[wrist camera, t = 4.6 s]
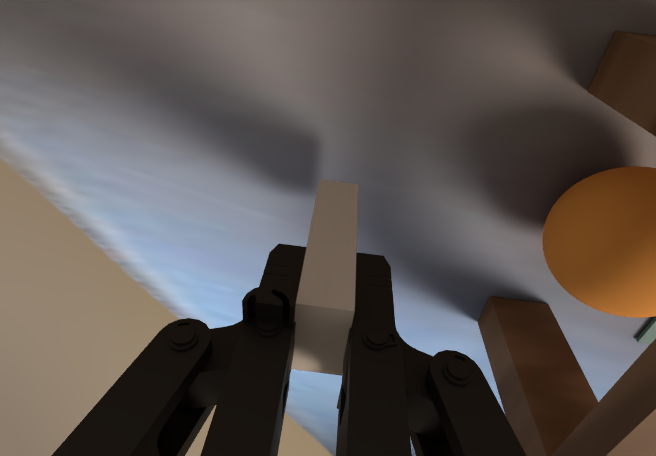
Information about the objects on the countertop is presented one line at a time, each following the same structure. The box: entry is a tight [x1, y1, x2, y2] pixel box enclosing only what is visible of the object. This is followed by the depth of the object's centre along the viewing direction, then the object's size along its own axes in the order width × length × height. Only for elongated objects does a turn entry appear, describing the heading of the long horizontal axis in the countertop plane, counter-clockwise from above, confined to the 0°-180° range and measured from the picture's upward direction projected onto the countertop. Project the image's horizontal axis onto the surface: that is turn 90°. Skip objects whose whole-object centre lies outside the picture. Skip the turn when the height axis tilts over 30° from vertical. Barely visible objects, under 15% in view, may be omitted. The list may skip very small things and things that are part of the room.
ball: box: [543, 167, 656, 318], centre depth 15 cm, size 6×6×6 cm
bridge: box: [478, 31, 656, 456], centre depth 14 cm, size 3×14×9 cm, turn 174°
